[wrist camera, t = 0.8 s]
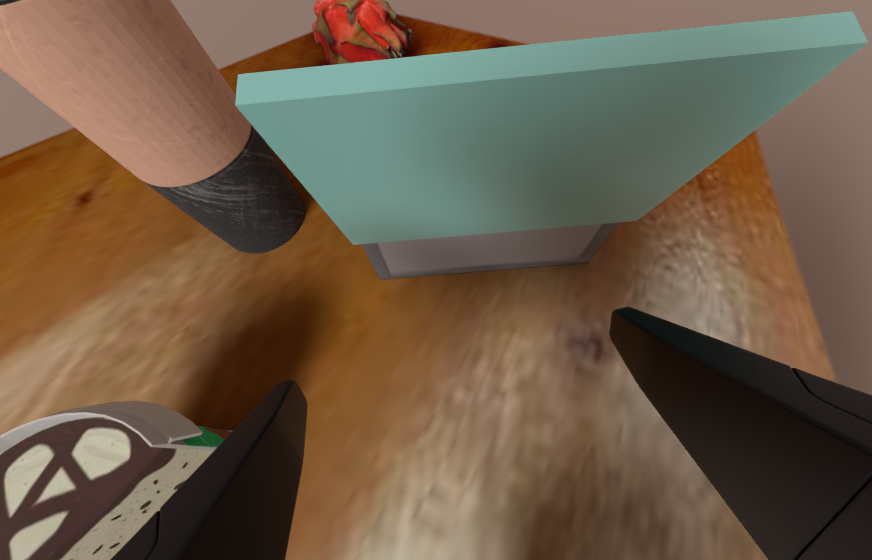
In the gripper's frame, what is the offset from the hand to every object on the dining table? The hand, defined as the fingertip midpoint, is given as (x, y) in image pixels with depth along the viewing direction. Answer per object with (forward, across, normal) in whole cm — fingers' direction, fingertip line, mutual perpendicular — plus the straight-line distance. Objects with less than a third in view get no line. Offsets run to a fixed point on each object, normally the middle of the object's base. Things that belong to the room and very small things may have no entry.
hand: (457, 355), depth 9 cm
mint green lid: (+7, -4, -3) cm, 9 cm away
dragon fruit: (+37, +2, -9) cm, 38 cm away
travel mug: (+23, +13, +1) cm, 26 cm away
